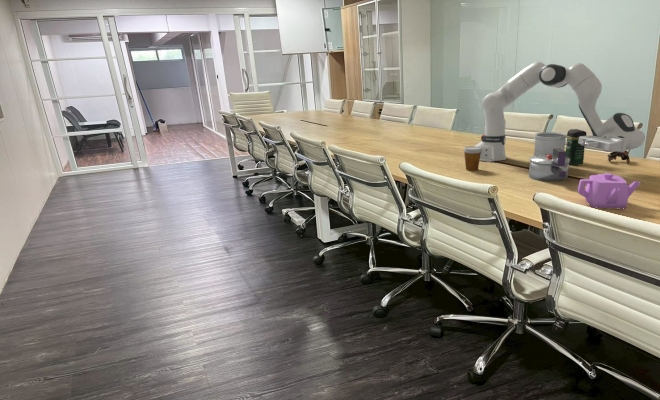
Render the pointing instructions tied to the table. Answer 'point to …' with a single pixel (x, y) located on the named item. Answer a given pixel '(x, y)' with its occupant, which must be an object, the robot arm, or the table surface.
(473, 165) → the disposable coffee cup
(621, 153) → the brown arched piece
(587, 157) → the table surface
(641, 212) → the table surface
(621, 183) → the teakettle
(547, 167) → the pot
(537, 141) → the utensil holder
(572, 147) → the coffee jar
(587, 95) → the robot arm
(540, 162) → the lid
